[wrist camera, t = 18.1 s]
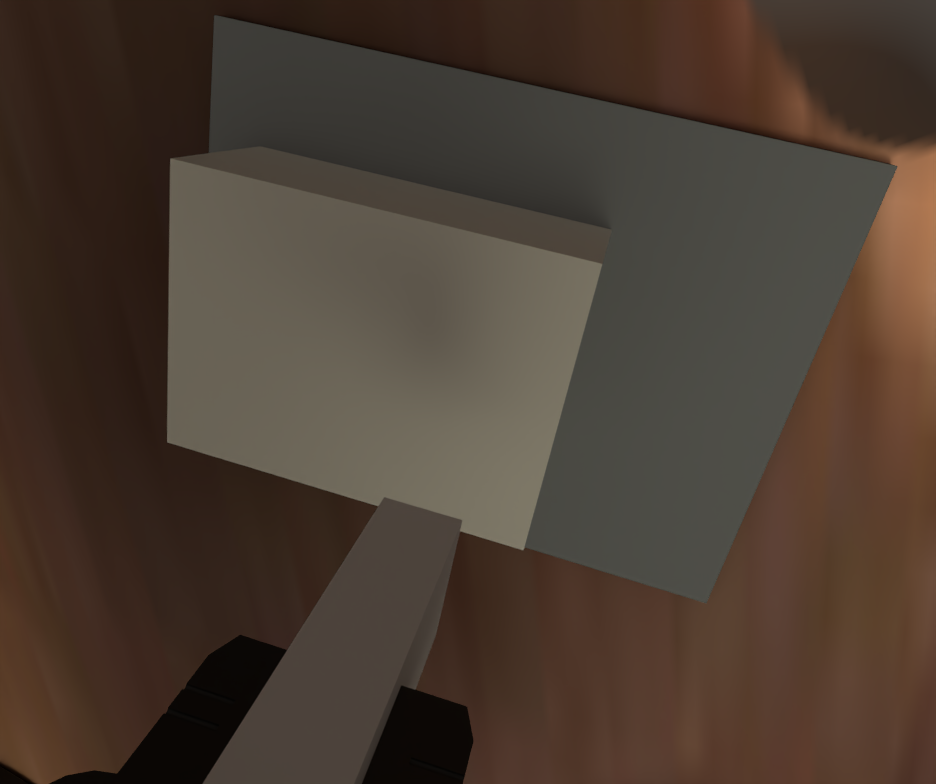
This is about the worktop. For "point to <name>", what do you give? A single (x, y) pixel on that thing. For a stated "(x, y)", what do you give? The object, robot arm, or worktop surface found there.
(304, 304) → the block
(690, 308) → the mat
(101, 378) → the worktop surface
